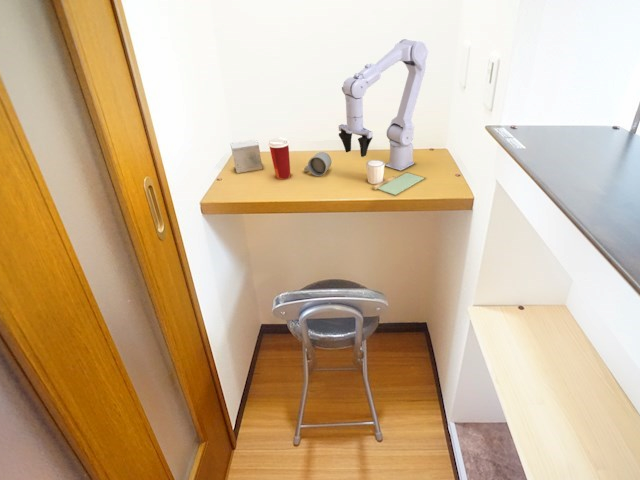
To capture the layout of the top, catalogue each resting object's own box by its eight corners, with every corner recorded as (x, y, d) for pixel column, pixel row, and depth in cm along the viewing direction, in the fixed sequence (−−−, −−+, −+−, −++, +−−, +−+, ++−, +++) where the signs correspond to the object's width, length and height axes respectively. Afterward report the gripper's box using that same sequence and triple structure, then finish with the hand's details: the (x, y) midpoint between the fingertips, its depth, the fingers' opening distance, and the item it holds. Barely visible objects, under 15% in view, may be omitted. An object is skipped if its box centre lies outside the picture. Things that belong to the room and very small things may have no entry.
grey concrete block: (237, 173, 158) (231, 148, 152) (235, 168, 163) (229, 142, 157) (263, 169, 161) (258, 144, 155) (260, 163, 166) (256, 139, 160)
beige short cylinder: (383, 185, 145) (383, 167, 141) (364, 184, 147) (364, 166, 143) (385, 177, 151) (385, 159, 147) (367, 176, 152) (367, 159, 148)
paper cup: (296, 173, 156) (292, 138, 148) (286, 181, 151) (281, 145, 143) (280, 171, 159) (275, 136, 151) (269, 178, 154) (263, 142, 145)
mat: (406, 173, 153) (406, 172, 153) (424, 178, 149) (424, 177, 149) (377, 189, 143) (377, 188, 143) (394, 195, 139) (394, 194, 138)
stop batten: (393, 178, 150) (393, 175, 149) (395, 179, 149) (395, 176, 149) (372, 189, 143) (372, 186, 143) (375, 190, 142) (375, 187, 142)
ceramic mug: (333, 168, 159) (331, 150, 155) (327, 177, 153) (325, 157, 148) (308, 167, 162) (306, 148, 157) (301, 175, 155) (298, 156, 151)
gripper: (331, 115, 140) (334, 152, 148) (362, 122, 132) (363, 161, 140) (345, 110, 144) (347, 147, 152) (376, 117, 136) (376, 155, 144)
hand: (355, 153), depth 146 cm, fingers open, 7 cm apart
